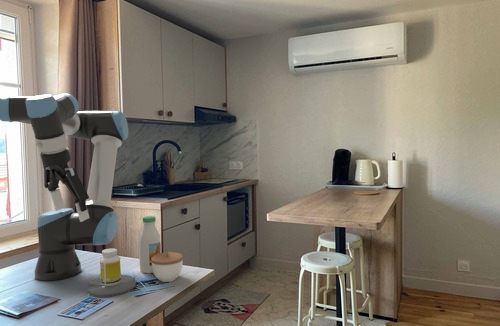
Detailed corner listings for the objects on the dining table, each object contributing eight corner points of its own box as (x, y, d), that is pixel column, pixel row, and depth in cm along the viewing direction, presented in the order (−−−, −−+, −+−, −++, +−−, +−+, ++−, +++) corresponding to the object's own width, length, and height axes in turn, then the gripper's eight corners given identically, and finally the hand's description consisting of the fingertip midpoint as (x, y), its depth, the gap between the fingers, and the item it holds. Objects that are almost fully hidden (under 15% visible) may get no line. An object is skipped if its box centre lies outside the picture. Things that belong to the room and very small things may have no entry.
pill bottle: (124, 280, 125) (123, 248, 125) (113, 287, 119) (112, 253, 119) (108, 279, 127) (107, 246, 126) (96, 286, 121) (95, 252, 120)
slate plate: (78, 289, 122) (77, 284, 122) (118, 275, 134) (118, 271, 134) (103, 301, 113) (103, 296, 113) (144, 285, 125) (144, 280, 125)
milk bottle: (141, 274, 134) (139, 220, 133) (138, 268, 141) (136, 216, 140) (163, 271, 137) (161, 217, 136) (159, 265, 144) (157, 214, 143)
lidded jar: (176, 285, 124) (175, 257, 124) (146, 283, 126) (145, 256, 126) (187, 274, 135) (187, 248, 134) (160, 272, 137) (159, 247, 136)
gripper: (19, 147, 112) (39, 209, 120) (65, 161, 98) (84, 230, 106) (44, 140, 117) (61, 200, 125) (90, 152, 104) (107, 218, 112)
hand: (72, 214), depth 116 cm, fingers open, 13 cm apart
